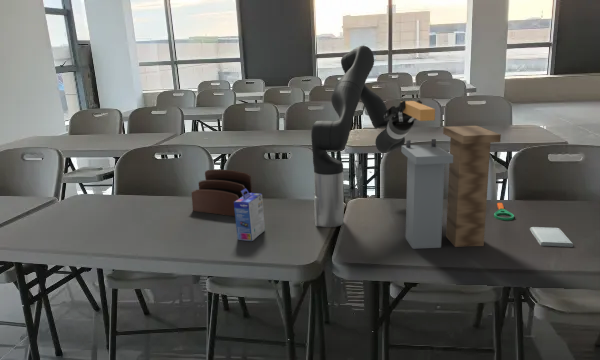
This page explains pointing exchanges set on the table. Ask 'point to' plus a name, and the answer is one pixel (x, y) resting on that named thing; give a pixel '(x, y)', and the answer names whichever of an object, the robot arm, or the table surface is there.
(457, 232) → the tall walnut stand
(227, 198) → the letter holder
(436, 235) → the tall gray pegged stand
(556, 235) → the hard drive
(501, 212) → the magnifying glass
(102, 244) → the table surface
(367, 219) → the table surface
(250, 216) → the ink cartridge box
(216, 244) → the table surface
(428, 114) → the orange bar
